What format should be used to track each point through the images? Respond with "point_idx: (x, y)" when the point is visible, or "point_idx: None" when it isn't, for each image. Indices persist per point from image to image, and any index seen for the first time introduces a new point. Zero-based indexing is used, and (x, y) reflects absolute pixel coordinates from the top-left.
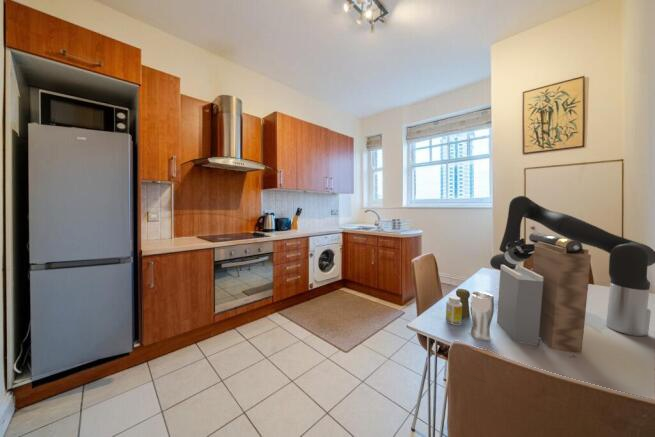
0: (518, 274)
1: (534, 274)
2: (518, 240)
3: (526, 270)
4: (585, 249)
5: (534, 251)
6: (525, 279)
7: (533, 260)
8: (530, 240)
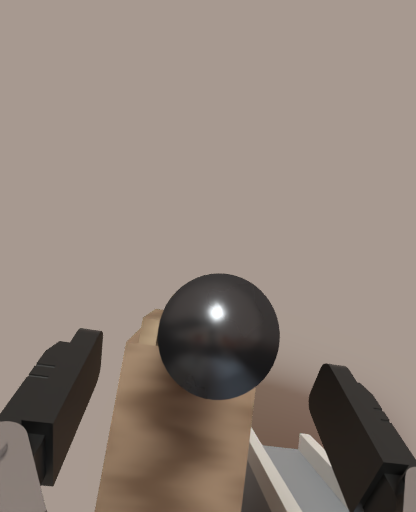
0: (310, 437)
1: (260, 445)
2: (380, 410)
3: (281, 480)
4: (159, 309)
5: (253, 397)
6: (288, 451)
7: (246, 462)
8: (258, 380)
